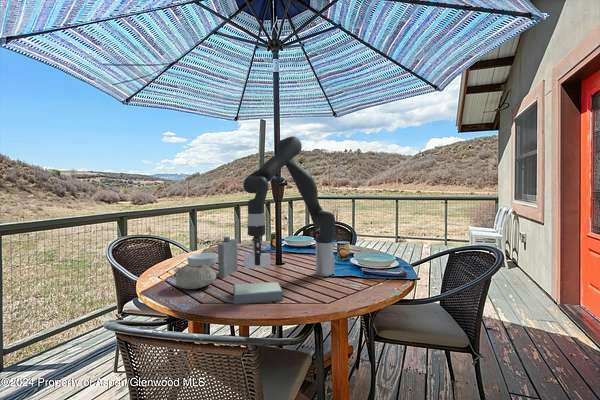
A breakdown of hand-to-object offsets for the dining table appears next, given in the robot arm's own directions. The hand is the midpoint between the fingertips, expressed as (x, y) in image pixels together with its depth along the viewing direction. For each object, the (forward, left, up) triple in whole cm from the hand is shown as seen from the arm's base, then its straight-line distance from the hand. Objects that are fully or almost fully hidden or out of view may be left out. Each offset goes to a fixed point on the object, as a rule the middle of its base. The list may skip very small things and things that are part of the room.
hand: (257, 263), depth 141 cm
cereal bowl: (+27, -55, -15) cm, 63 cm away
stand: (0, 0, -14) cm, 14 cm away
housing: (0, 0, -1) cm, 1 cm away
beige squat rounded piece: (+27, -20, -15) cm, 37 cm away
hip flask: (+13, -38, -15) cm, 43 cm away
